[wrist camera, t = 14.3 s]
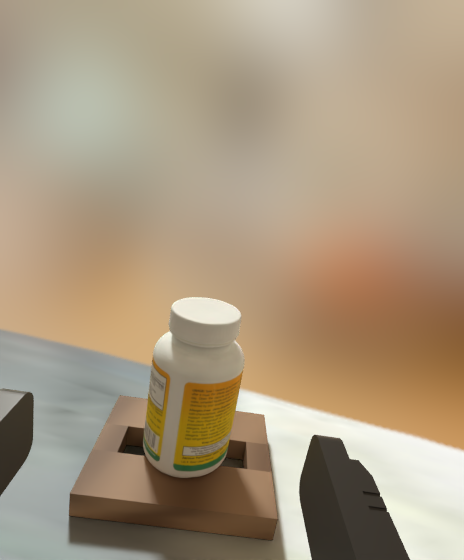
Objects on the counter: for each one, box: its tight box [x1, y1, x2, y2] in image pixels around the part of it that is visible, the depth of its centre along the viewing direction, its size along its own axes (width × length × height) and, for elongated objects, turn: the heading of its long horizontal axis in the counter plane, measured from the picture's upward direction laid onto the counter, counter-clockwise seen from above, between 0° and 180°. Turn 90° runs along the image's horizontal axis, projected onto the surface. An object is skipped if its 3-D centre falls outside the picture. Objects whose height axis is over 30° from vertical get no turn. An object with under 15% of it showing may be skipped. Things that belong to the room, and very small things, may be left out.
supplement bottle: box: [143, 297, 244, 478], centre depth 22 cm, size 5×5×10 cm
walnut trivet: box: [69, 395, 278, 540], centre depth 24 cm, size 11×9×2 cm
